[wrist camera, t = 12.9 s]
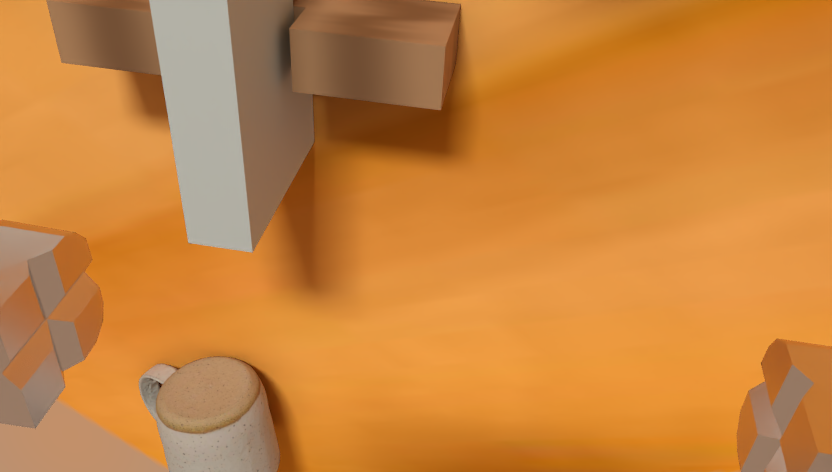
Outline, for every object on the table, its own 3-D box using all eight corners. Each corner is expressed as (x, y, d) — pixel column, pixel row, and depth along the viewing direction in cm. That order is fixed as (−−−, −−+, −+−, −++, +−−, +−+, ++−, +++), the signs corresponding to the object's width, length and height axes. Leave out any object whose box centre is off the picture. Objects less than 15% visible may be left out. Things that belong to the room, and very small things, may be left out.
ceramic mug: (276, 352, 54) (233, 441, 48) (295, 431, 58) (259, 521, 52) (134, 339, 56) (77, 423, 50) (164, 416, 60) (115, 501, 54)
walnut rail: (460, 4, 37) (445, 46, 33) (455, 63, 39) (440, 110, 35) (101, -36, 39) (46, 0, 35) (112, 22, 41) (61, 62, 37)
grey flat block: (238, -142, 35) (136, -81, 27) (304, -136, 34) (219, -72, 27) (261, 134, 43) (188, 242, 35) (314, 141, 43) (252, 252, 35)
